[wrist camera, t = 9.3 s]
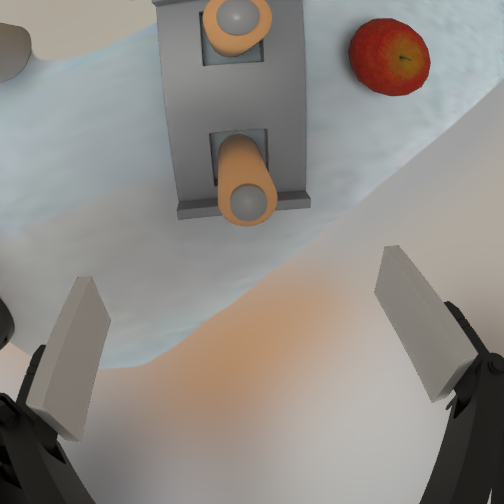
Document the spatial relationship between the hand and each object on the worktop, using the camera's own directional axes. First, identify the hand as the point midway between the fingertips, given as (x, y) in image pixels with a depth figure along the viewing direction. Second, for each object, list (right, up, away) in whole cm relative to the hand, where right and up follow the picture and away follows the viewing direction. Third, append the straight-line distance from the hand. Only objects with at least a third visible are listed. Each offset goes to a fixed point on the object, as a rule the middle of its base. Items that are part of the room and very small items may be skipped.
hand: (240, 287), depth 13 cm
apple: (+13, +22, +12) cm, 28 cm away
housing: (-1, +17, +14) cm, 22 cm away
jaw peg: (-1, +12, +17) cm, 21 cm away
